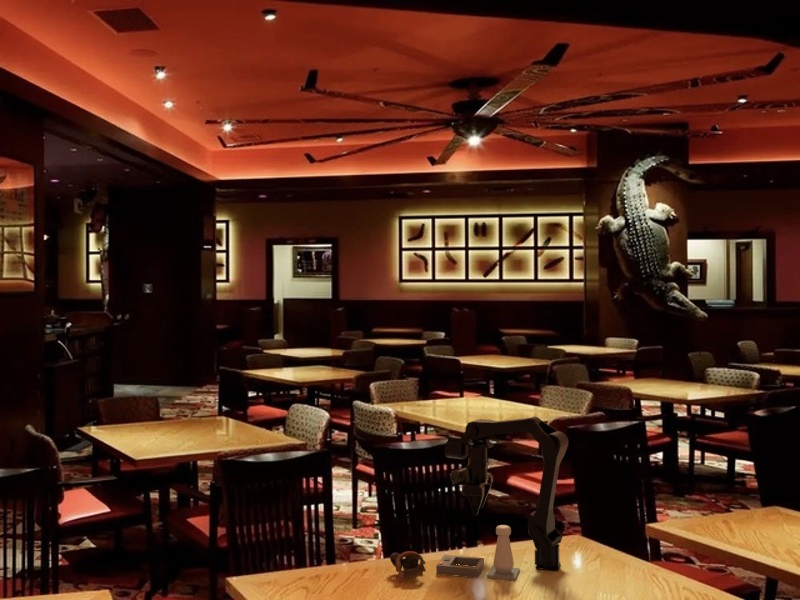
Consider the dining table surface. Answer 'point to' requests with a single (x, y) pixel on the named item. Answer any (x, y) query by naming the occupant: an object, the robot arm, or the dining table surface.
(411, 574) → the pottery mug
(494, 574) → the slate coaster
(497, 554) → the salt shaker
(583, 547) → the dining table surface
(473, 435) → the robot arm
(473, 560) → the grey rectangular tray
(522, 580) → the dining table surface
